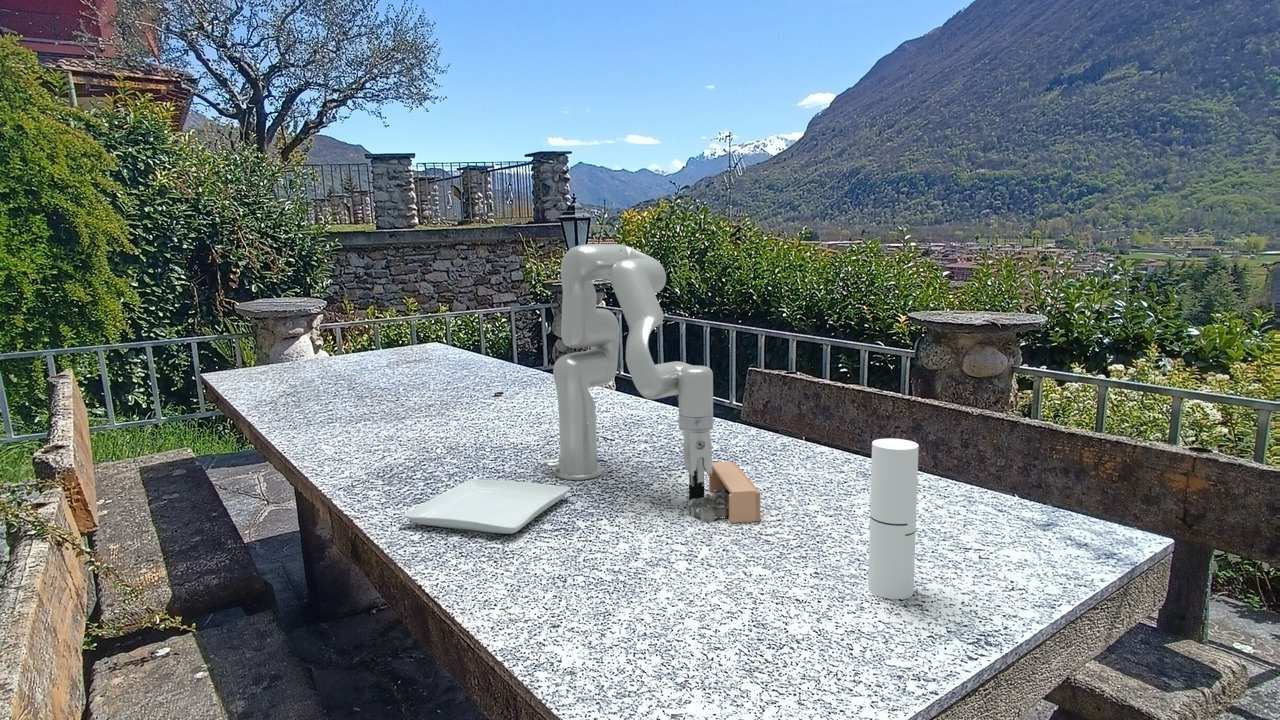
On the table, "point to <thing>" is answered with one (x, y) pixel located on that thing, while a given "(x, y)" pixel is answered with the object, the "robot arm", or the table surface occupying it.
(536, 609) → the table surface
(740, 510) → the shelf
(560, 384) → the robot arm
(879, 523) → the cylindrical container
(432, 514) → the square plate
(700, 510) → the egg carton
